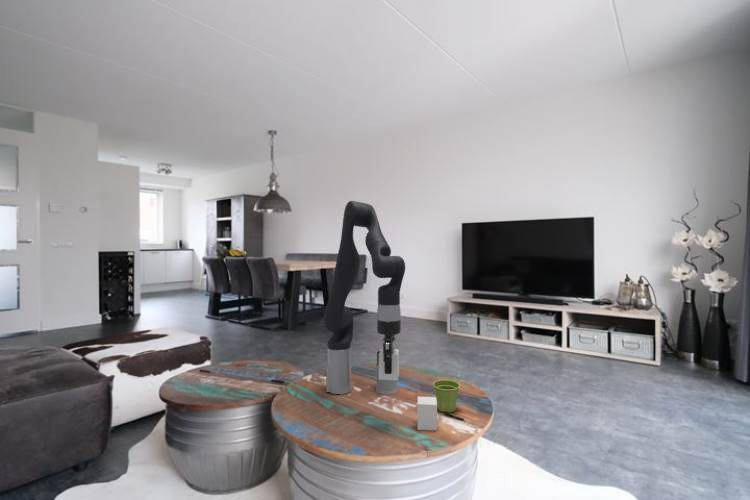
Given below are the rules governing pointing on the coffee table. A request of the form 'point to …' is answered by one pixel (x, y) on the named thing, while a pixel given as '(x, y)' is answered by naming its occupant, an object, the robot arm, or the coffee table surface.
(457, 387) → the plant pot
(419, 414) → the light grey rectangular block
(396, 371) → the left white block
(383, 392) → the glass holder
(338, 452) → the coffee table surface
